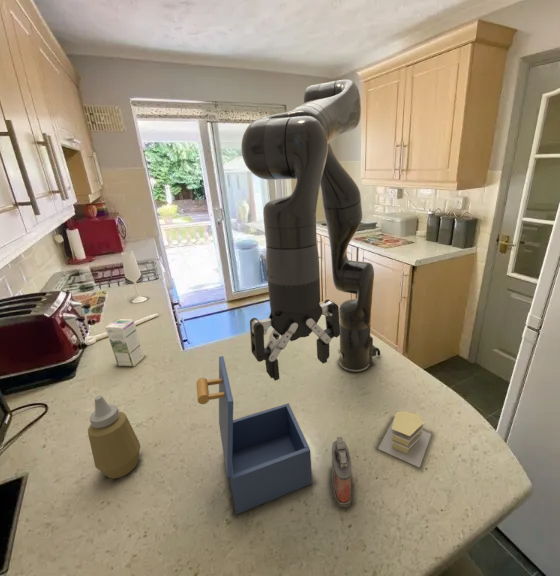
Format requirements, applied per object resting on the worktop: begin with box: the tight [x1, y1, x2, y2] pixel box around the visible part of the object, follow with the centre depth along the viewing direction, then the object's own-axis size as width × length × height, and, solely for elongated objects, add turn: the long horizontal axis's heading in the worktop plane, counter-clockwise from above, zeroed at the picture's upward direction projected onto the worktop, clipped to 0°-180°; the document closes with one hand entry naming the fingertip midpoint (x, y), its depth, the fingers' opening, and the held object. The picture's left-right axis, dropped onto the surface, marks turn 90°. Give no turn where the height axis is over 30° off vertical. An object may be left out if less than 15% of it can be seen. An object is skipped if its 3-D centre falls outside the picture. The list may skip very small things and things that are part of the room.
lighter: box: [331, 436, 352, 508], centre depth 58 cm, size 8×3×10 cm, turn 5°
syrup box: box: [105, 318, 145, 367], centre depth 100 cm, size 6×6×14 cm
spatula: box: [84, 313, 159, 346], centre depth 124 cm, size 28×4×3 cm, turn 148°
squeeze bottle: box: [87, 395, 141, 479], centre depth 62 cm, size 8×8×18 cm
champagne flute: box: [120, 251, 148, 304], centre depth 148 cm, size 7×7×24 cm
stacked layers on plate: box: [377, 410, 432, 469], centre depth 68 cm, size 10×9×6 cm
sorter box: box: [229, 403, 313, 515], centre depth 62 cm, size 15×14×9 cm
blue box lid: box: [196, 355, 234, 479], centre depth 55 cm, size 15×14×5 cm
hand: (299, 368), depth 50 cm, fingers open, 8 cm apart
